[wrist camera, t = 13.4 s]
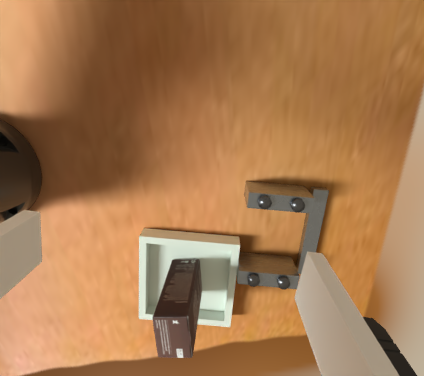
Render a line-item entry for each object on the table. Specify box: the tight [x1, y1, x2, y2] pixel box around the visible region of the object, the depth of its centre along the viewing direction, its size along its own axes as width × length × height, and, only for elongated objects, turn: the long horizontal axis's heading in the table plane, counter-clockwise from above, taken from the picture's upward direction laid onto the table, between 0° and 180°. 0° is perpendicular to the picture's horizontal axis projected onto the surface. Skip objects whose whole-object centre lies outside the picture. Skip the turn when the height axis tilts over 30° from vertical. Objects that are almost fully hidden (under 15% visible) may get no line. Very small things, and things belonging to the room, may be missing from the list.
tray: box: [139, 228, 240, 327], centre depth 44 cm, size 14×14×3 cm
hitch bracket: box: [237, 181, 329, 289], centre depth 39 cm, size 11×13×6 cm
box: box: [152, 258, 202, 358], centre depth 39 cm, size 6×4×12 cm
